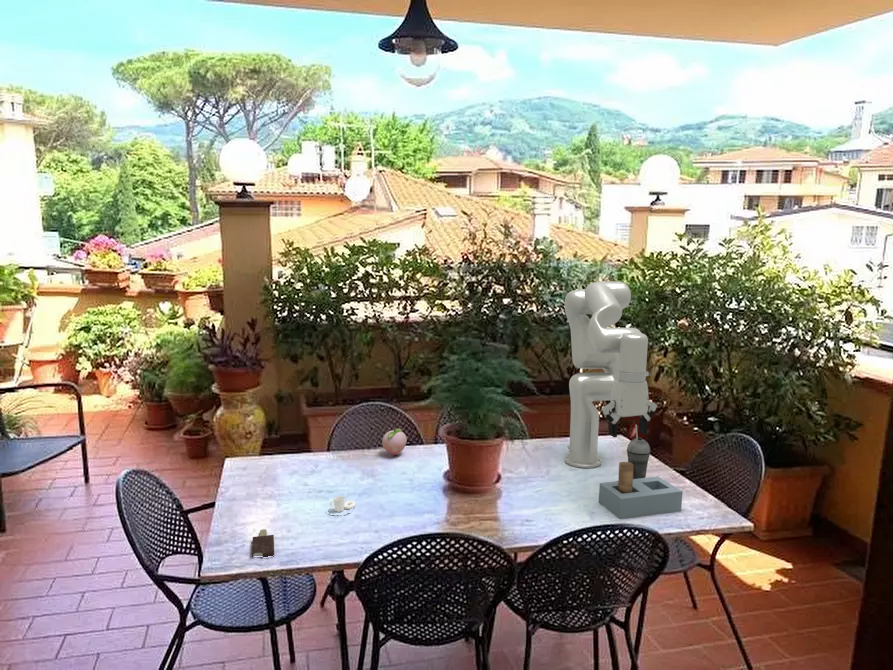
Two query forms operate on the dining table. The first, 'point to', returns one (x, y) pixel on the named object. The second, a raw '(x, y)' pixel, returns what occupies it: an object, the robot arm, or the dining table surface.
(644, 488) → the bore block
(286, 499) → the dining table surface
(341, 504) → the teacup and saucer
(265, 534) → the ice cream bar
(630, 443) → the beverage cup
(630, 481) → the walnut peg
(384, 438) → the decorative fruit
